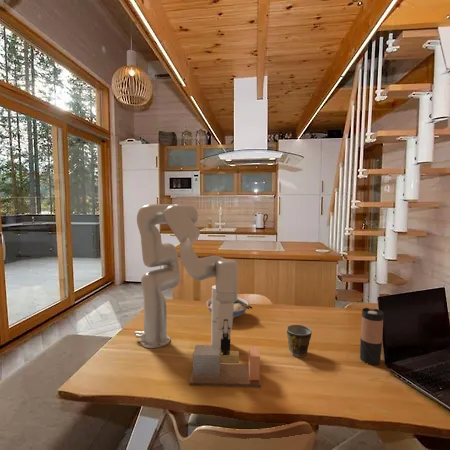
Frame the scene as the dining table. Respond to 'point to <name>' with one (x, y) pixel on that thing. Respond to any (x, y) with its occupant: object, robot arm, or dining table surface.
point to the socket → (254, 363)
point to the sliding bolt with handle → (229, 356)
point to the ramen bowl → (239, 306)
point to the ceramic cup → (298, 339)
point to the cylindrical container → (215, 320)
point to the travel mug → (371, 336)
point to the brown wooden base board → (218, 370)
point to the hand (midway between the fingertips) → (225, 343)
